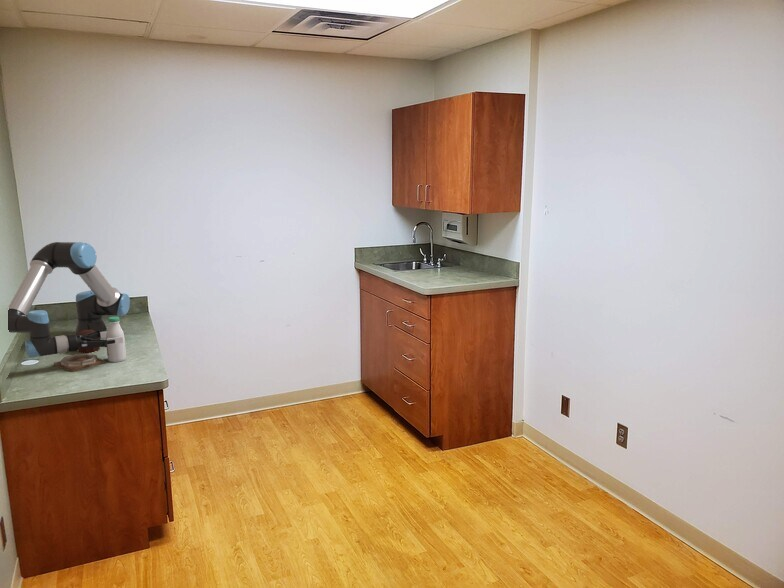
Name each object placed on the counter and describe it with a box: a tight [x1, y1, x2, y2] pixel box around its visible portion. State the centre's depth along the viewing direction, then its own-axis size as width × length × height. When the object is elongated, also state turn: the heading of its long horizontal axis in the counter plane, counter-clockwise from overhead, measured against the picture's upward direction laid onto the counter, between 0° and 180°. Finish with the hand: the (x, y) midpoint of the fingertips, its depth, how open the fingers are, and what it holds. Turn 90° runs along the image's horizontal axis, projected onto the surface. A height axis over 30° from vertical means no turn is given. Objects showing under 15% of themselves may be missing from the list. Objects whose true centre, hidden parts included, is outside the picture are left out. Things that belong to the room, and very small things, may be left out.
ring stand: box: [53, 353, 106, 372], centre depth 271 cm, size 15×15×3 cm
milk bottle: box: [105, 316, 127, 363], centre depth 276 cm, size 8×8×20 cm
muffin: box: [77, 330, 101, 354], centre depth 290 cm, size 12×11×10 cm
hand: (119, 336), depth 276 cm, fingers open, 13 cm apart
